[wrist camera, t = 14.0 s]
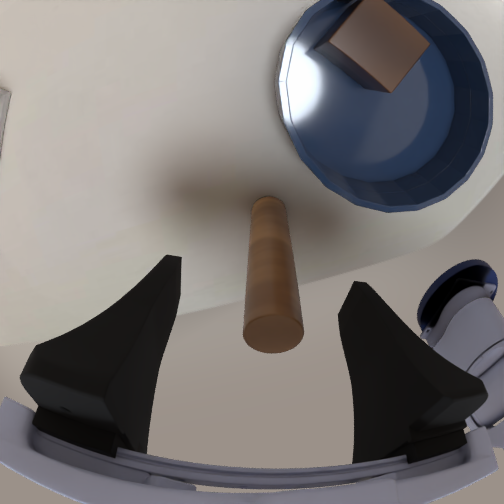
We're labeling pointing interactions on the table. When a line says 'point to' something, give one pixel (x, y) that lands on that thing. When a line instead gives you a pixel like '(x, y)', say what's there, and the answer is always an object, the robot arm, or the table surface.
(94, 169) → the table surface
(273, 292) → the rod
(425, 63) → the bowl
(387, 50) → the block
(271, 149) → the table surface
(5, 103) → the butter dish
